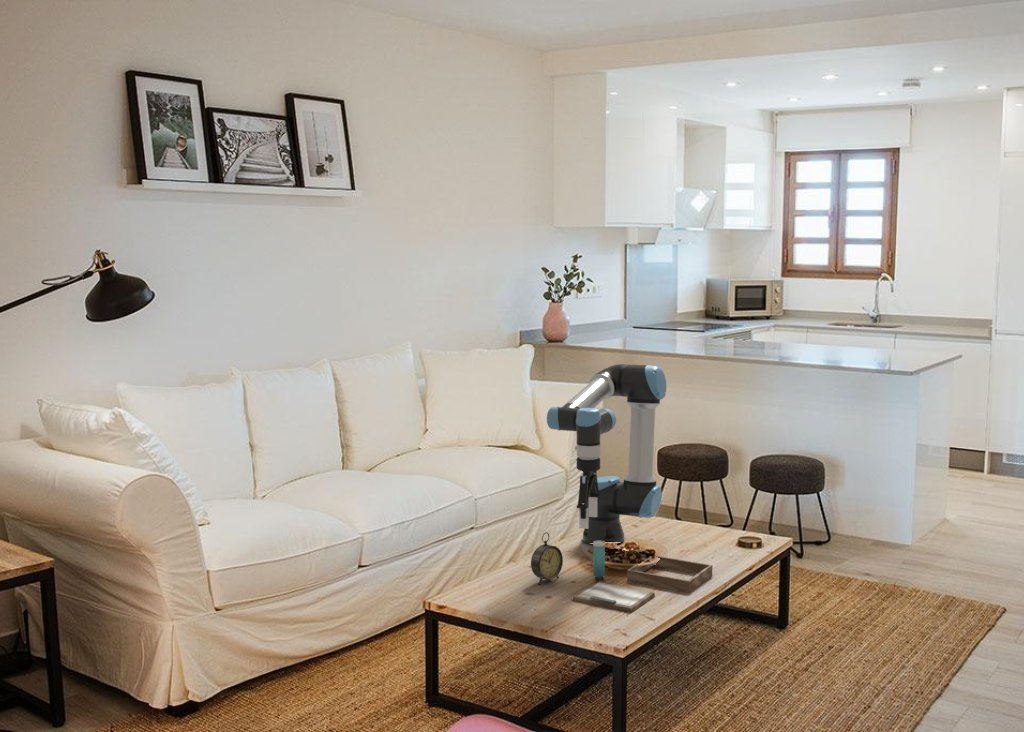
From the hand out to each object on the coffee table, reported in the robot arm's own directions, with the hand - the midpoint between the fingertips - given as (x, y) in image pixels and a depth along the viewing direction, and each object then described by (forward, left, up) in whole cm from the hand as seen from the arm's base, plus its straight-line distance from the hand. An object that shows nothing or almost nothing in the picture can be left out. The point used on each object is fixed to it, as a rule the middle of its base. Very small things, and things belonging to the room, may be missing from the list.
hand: (588, 522), depth 332 cm
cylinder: (-3, +2, -20) cm, 20 cm away
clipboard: (+10, +14, -20) cm, 26 cm away
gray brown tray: (-16, +21, -20) cm, 33 cm away
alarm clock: (+7, -12, -20) cm, 24 cm away
